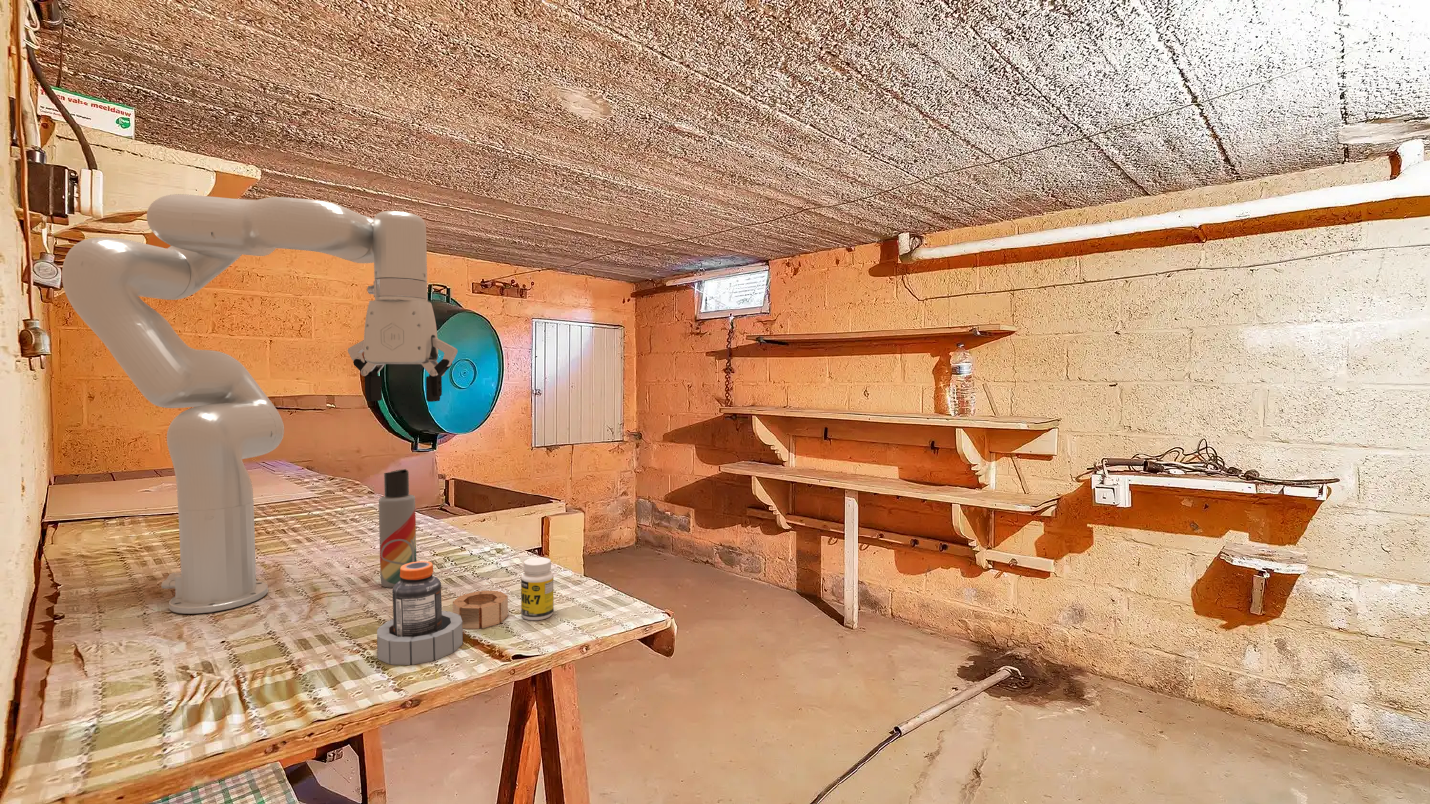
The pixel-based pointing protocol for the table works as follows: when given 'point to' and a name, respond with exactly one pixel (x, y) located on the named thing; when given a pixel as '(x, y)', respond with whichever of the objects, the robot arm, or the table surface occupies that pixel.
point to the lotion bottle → (396, 527)
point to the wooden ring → (481, 609)
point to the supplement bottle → (537, 589)
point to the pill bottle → (417, 601)
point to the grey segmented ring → (420, 642)
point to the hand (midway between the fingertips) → (403, 401)
